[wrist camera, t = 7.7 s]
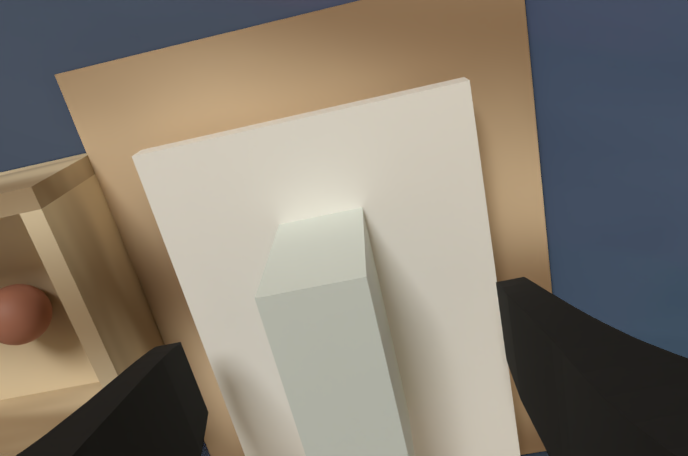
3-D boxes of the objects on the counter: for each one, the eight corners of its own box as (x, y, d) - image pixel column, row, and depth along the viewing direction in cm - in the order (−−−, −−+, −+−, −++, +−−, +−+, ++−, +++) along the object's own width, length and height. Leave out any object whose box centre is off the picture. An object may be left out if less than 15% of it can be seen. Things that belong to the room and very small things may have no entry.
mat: (562, 438, 17) (566, 447, 17) (232, 491, 18) (229, 501, 18) (515, -38, 12) (521, -39, 12) (63, 72, 13) (54, 74, 13)
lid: (457, 73, 13) (516, 108, 8) (507, 422, 17) (565, 578, 12) (152, 142, 14) (52, 210, 9) (268, 462, 17) (238, 623, 13)
